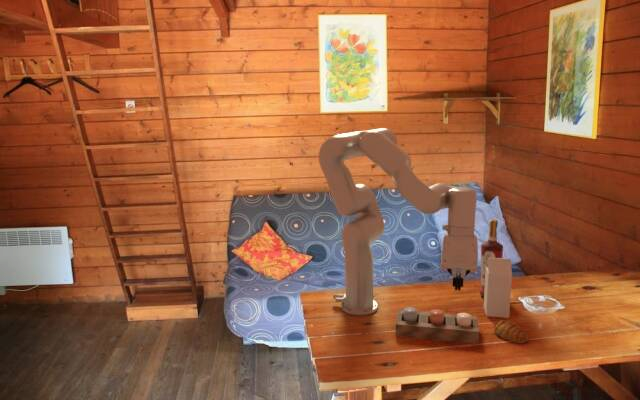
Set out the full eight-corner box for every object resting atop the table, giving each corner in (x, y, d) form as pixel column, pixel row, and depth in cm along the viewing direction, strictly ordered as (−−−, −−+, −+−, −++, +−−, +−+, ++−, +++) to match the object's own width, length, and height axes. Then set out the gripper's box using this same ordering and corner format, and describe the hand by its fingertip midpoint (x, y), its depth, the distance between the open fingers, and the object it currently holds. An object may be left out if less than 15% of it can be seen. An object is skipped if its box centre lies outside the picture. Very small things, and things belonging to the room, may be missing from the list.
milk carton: (509, 318, 155) (512, 262, 151) (486, 316, 156) (489, 261, 152) (505, 308, 162) (508, 255, 157) (483, 307, 163) (486, 254, 159)
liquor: (476, 297, 170) (480, 222, 164) (481, 290, 177) (485, 216, 170) (497, 301, 167) (502, 224, 160) (502, 294, 173) (506, 219, 166)
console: (395, 336, 146) (395, 324, 145) (398, 320, 155) (398, 309, 154) (478, 344, 140) (478, 331, 139) (476, 327, 150) (476, 316, 149)
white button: (456, 330, 144) (457, 318, 143) (456, 324, 148) (456, 312, 147) (471, 332, 143) (471, 319, 142) (470, 325, 147) (471, 313, 146)
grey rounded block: (402, 324, 148) (403, 312, 147) (403, 318, 152) (404, 306, 151) (416, 326, 147) (416, 314, 146) (417, 319, 151) (417, 307, 150)
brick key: (429, 327, 146) (429, 315, 145) (429, 320, 150) (430, 308, 149) (443, 328, 145) (444, 316, 144) (443, 321, 149) (444, 310, 148)
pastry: (532, 340, 142) (533, 328, 141) (519, 347, 138) (520, 335, 137) (505, 327, 150) (505, 316, 149) (491, 334, 146) (492, 323, 145)
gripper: (434, 232, 137) (431, 291, 141) (489, 235, 133) (485, 296, 138) (434, 225, 144) (432, 281, 148) (486, 227, 141) (482, 285, 145)
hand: (457, 288), depth 143 cm, fingers closed
